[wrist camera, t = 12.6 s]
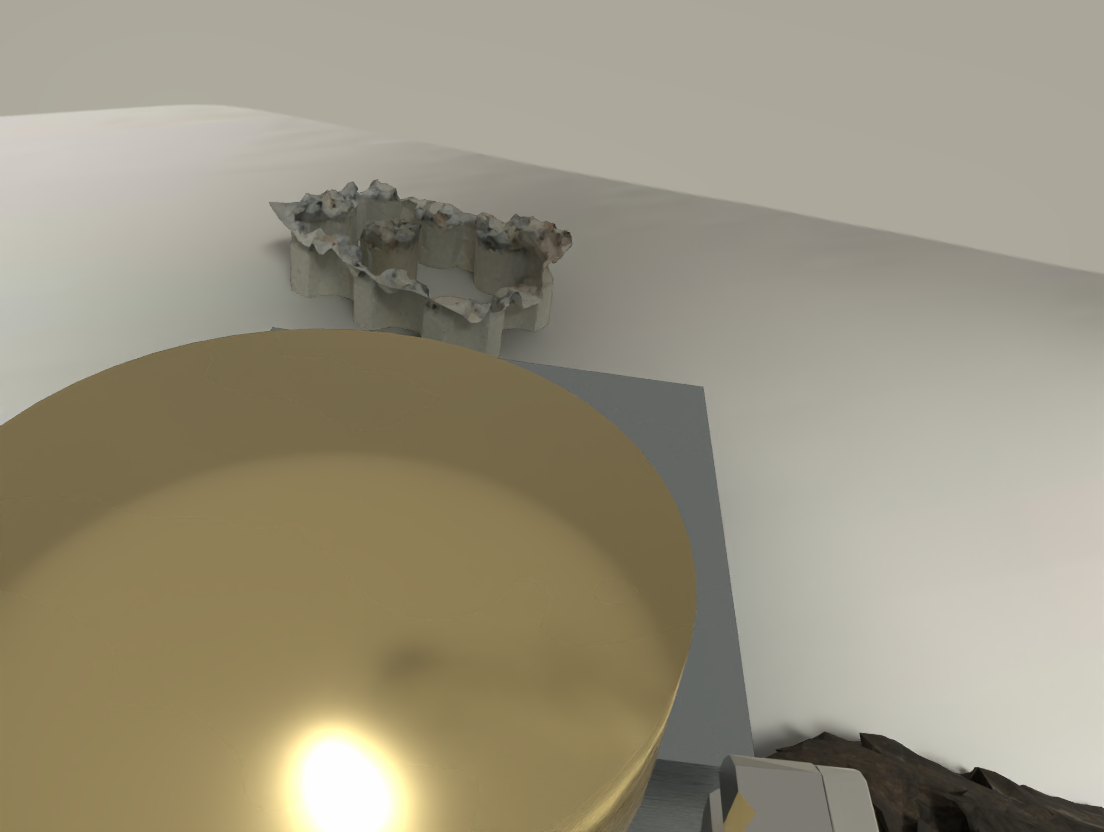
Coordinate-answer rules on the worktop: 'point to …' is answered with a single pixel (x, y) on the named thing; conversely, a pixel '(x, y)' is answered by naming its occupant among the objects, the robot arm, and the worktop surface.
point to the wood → (942, 791)
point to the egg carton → (433, 240)
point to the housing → (714, 657)
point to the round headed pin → (332, 596)
